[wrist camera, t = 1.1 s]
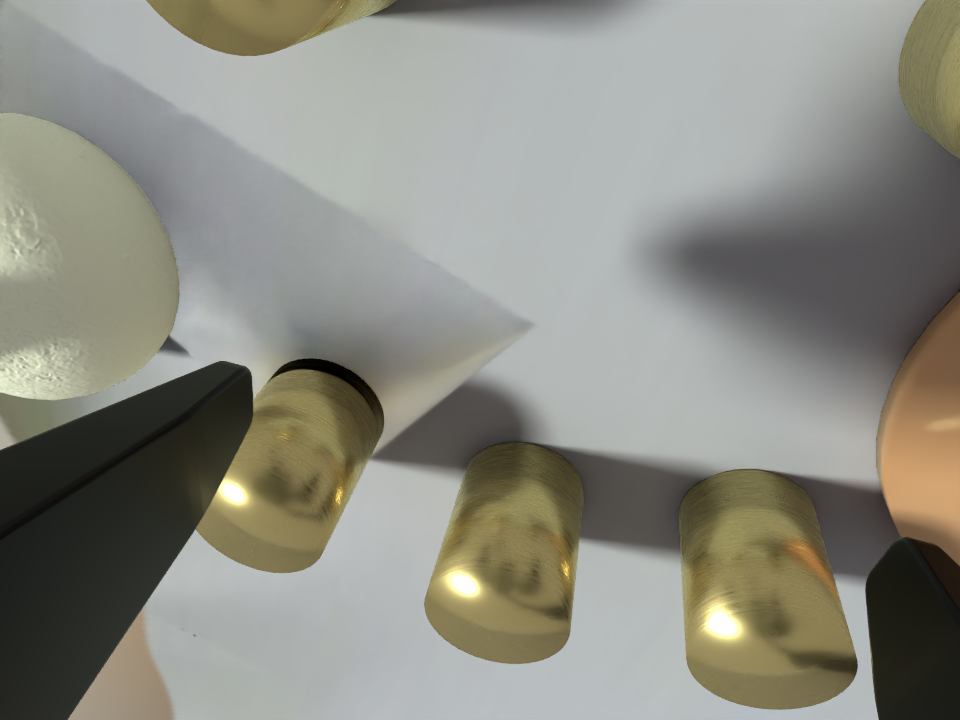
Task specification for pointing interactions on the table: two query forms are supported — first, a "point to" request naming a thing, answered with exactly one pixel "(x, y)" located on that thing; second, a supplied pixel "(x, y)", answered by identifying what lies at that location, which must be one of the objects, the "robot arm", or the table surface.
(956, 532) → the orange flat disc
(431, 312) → the table surface
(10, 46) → the table surface
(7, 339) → the cream white mushroom
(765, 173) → the table surface
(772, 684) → the spacer field
